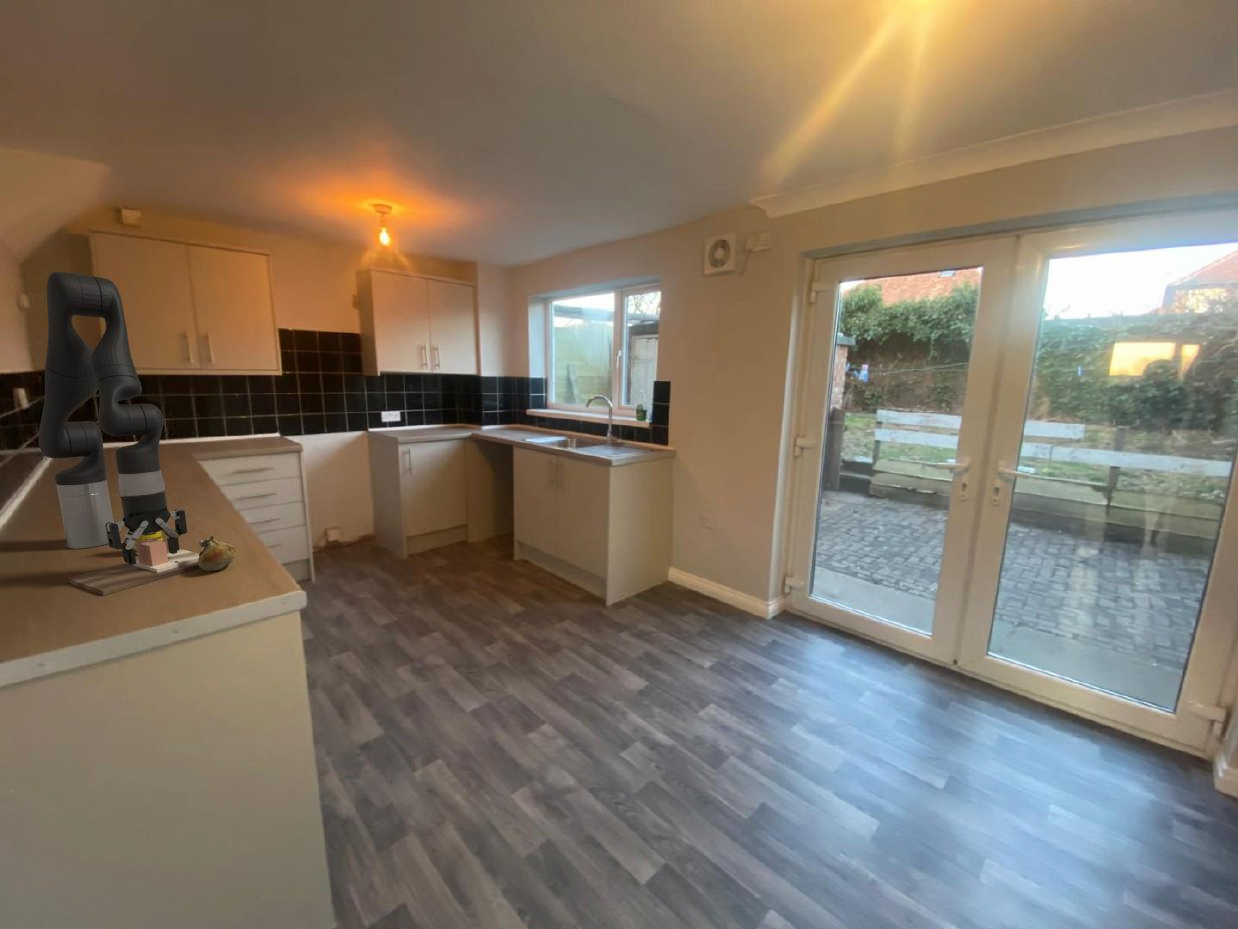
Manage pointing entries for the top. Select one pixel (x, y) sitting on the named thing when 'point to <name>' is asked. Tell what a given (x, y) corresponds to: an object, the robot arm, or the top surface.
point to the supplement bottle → (149, 536)
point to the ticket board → (133, 574)
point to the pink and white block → (153, 556)
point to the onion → (215, 554)
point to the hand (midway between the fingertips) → (153, 558)
